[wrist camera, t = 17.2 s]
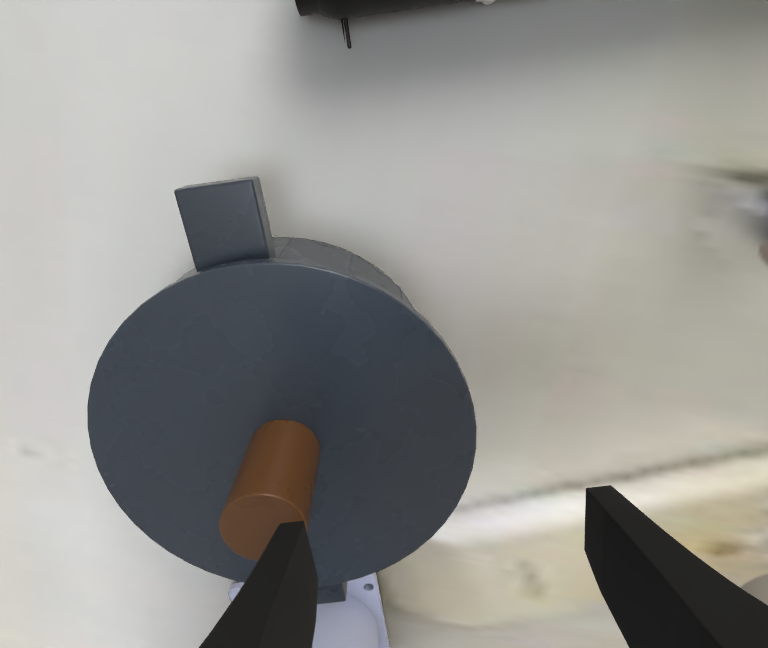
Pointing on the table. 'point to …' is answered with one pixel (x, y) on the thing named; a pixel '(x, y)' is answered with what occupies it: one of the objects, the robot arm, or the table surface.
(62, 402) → the table surface
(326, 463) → the pot lid
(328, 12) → the toy submachine gun
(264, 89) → the table surface
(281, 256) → the pot
